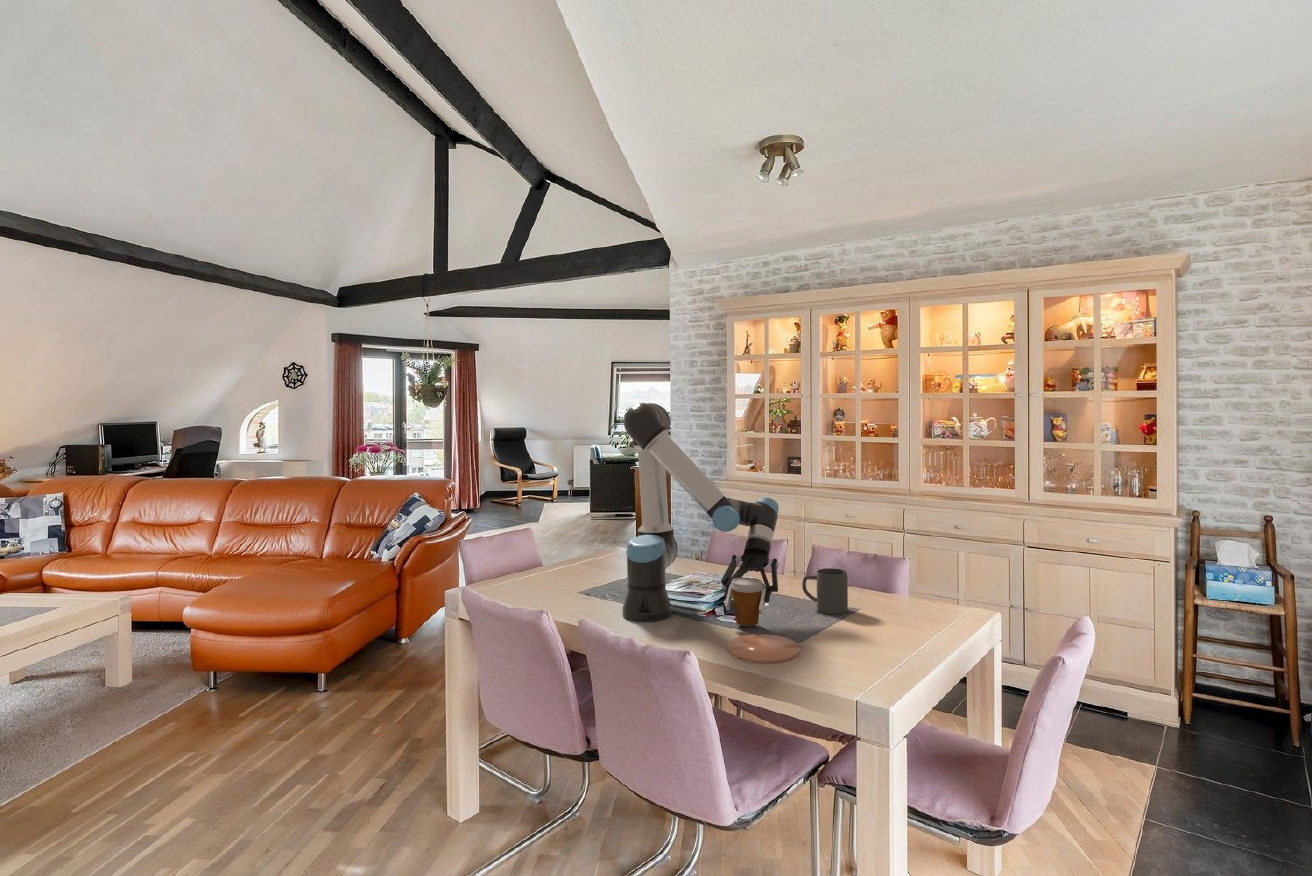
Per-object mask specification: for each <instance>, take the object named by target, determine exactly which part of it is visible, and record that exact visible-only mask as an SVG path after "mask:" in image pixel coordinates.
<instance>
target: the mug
mask: <svg viewBox="0 0 1312 876" xmlns="http://www.w3.org/2000/svg"><path fill="white" fill-rule="evenodd" d="M810 579H811V580H812V579H813V580H816V597H815V596H813V595H812V594H811V593H810V592H809V591H808V589H807V580H810ZM848 583H849V582H848V572H847V571H846V570H845V569H840V568H831V567H830V568H828V567H827V568H826V567H825V568H819V569H817V570H816V575H814V574H812V575H805V576H804V577H803V578H802V583H801V584H802V585H801V586H802V591H803V593H804V594H805V596H806V597H808V598H809V599H810V600H812V601H813V602H816V605H817V607H816V609H817V611H818V612H820V613H822V614H825V613H826V615H843V614H846V613H847V612H848V607H849V606H848V605H849V603H848V601H849V599H848V598H849V597H848V596H849V595H848V594H849V593H848V591H849V589H848V587H849V586H848Z"/></svg>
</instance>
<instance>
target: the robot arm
mask: <svg viewBox="0 0 1312 876" xmlns="http://www.w3.org/2000/svg"><path fill="white" fill-rule="evenodd" d="M623 425H624V426H623V427H624V430H625V431H626V433H627V434H628V436H629V437H630V438H631V439H632V447H633V448H634V449H636V450H637V456H638V458H637V459H638V474H639V475H638V476H639V493H640V494H639V495H640V509H641V510H640V511H641V525H640V527H639V528H638V529H637V536H634V537H632V538H630V539H629V540H628V541H627V543H626V550H625V551H626V565H627V566H626V567H627V570H626V571H627V573H626V574H627V590H626V591H627V592H626V596H625V599H624V603H623V606H622V610H621V611H622V617H623V618H624V619H627V620H630V621H635V622H657V621H662V620H666V619H668V618H670V617H671V616H672V615H673V607H672V604H671V601H670V598H669V597H670V596H669V594H668V591H667V589H666V588H667V587H666V586H667V585H666V581H667V580H666V569H668V568H669V567H670V566H671V565H672V564H673V563H674V562H675V560H676V558H677V555H678V551H679V547H678V542H677V540H676V538H675V533H674V530H675V529H674V526H673V525H671V524H670V521H669V511H668V510H669V509H668V491H667V489H668V488H667V476H666V475H667V474H666V472H667V473H668V474H669V475H670V476H671V477H672V478H673V479H674V480H675V481H676V482H677V483H678V485H680V487H682V489H684V491H685V492H686V493H687V494H688V495H689V496H690V497H691V498H692V499H693V501H695V503H696V504H697V505H698V506H699V507H700V508H701V509H702V510H703V511H704V512H705V513H706V514H707V516H708V517H709V518H710V519H711V520H712V523H713V526H714V527H715V528H716V529H717V530H718V531H720V532H723V533H729V532H731V531H734V530H735V529H737V527H738V526H739V525H740V526H745V527H749V529H748V533H747V537H746V542H745V545H744V550H743V553H742V555H741V556H736V555H735V554H733V555H732V556H731V561H730V563H729V565H728V566H727V569H726V570H725V572H724V574H723V576H722V578H721V579H720V582H721V586H723V587H724V588H725V589H724V593H723V595H724V597H725V603H724V607H725V609H726V611H730V609H731V606H732V602H733V594H732V589H731V587H730V584H731V583H732V580H733V579H736V578H743V576H744V575H745V574H747V573H748V572H756V573H757V572H758V573H759V572H760V575H761V579H762V582H763V585H764V587H765V588H763V590H762V595H761V600H760V605H759V615H763V614H764V613H765V612H764V611H765V608H766V607H765V606H766V603H770V599H771V594H772V593H778V592H779V584H778V567H779V562H778V559H777V558H776V557H774V558H773V559H772V558H769V557H770V553H771V550H772V549H771V548H772V543H773V538H774V536H775V535H774V534H775V530H776V527H777V526H776V525H777V521H778V516H779V509H780V508H779V504H778V502H777V501H776V500H774V499H773V498H771V497H768V496H764V497H759V498H758V499H756V500H755V502H748V501H745V500H741V499H740V500H739V499H736V498H735V499H734V498H730V497H726V496H725V495H724V493H723V492H722V491H721V490H720V489H719V488H718V487H717V486H716V485H715V483H714V482H712V481H711V480H710V479H709V477H707V475H706V474H705V473H704V472H703V471H702V470H701V469H700V468H699V467H698V466H697V464H695V463H694V461H692V459H691V458H690V457H689V456H688V455H687V454H686V453H685V452H684V451H683V449H681V448H680V446H679V445H678V444H677V443H676V442H675V441H674V440H673V439H672V438H671V437H670V436H669V430H670V429H671V416H670V414H669V412H668V411H667V410H666V408H664V407H663V406H662V405H659V404H657V403H656V402H655V403H650V402H648V403H647V402H646V403H645V402H639V403H636V404H634V405H632V406H630V407H629V408H628V410H627V411H626V413H625V414H624V417H623ZM740 562H741V564H740ZM739 564H740V566H739V568H738V569H737V567H738V565H739ZM768 565H769V566H770V568H771V585H770V583H769V579H768V577H767V575H766V571H765V569H764V568H766V567H767V566H768Z"/></svg>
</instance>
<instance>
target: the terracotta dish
mask: <svg viewBox="0 0 1312 876" xmlns="http://www.w3.org/2000/svg"><path fill="white" fill-rule="evenodd" d="M727 650H728V654H730V656H732V657H734V656H735V657H734V658H736V657H737V658H736V659H738V658H739V659H738V660H741V659H742V660H741V661H744V660H745V661H744V662H748V661H750V662H749V663H757V664H778V663H784V662H788V661H791V660H793V659H795V658H797V657H798V656H799V655H800V646H799V644H798V643H797V642H796V641H794V640H793V639H790V638H789V637H784V636H779V635H775V634H774V635H773V634H765V633H763V634H759V633H757V634H748V635H747V634H746V635H742V636H738V637H736V638H733V639H731V640H730V641H729V642H728V645H727Z"/></svg>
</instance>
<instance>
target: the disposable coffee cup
mask: <svg viewBox="0 0 1312 876" xmlns="http://www.w3.org/2000/svg"><path fill="white" fill-rule="evenodd" d="M730 587H731V589H732V594H733V597H732V602H733V608H734V609H733V610H734V616H735V623H736V624H737V625H739V626H744V627H750V626H752V627H753V626H757V625H758V624H759V617H760V611H759V605H760V600H761V596H762V591H763V589H764V587H765V584H764V583H763V580H761V579H759V578H755V577H741V578H736V579H733V580H732V583H731V584H730Z"/></svg>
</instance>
